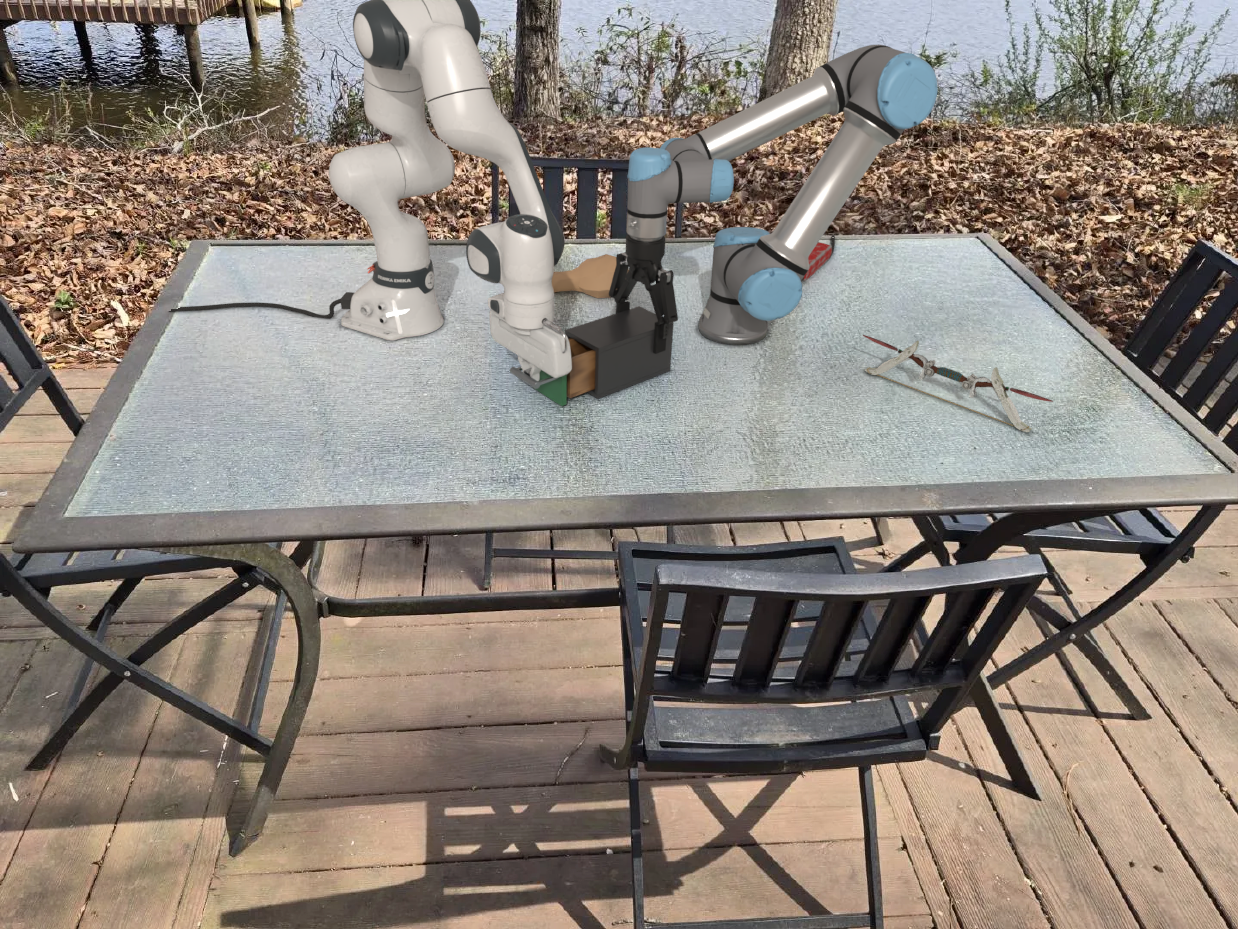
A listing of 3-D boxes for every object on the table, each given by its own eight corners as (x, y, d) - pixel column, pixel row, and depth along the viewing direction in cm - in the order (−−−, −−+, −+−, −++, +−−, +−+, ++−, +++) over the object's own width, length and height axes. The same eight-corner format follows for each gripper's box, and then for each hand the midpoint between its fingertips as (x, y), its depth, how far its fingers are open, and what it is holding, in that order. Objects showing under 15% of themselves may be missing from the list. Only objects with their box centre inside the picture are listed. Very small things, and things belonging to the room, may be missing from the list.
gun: (720, 263, 218) (793, 282, 210) (769, 227, 240) (836, 243, 232) (718, 280, 221) (790, 299, 213) (767, 243, 243) (833, 259, 235)
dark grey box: (597, 399, 169) (598, 348, 163) (564, 379, 175) (564, 329, 169) (670, 370, 180) (673, 322, 174) (636, 353, 186) (639, 305, 180)
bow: (1043, 434, 162) (1060, 387, 156) (1039, 438, 161) (1056, 390, 155) (858, 366, 183) (867, 322, 178) (854, 369, 182) (862, 324, 177)
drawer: (537, 415, 161) (536, 373, 156) (508, 396, 166) (507, 355, 161) (633, 378, 174) (635, 338, 169) (604, 362, 180) (605, 322, 175)
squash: (632, 302, 209) (628, 269, 203) (549, 309, 210) (543, 277, 204) (632, 277, 217) (628, 245, 210) (552, 285, 218) (546, 253, 212)
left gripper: (580, 325, 150) (579, 396, 158) (510, 287, 162) (513, 354, 170) (551, 335, 146) (552, 407, 154) (481, 296, 159) (485, 363, 167)
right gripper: (591, 222, 170) (590, 327, 182) (673, 256, 156) (666, 367, 168) (620, 215, 174) (617, 318, 187) (703, 247, 160) (693, 356, 173)
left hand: (531, 379), depth 162 cm, fingers closed
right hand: (640, 341), depth 178 cm, fingers closed on dark grey box, 10 cm apart
